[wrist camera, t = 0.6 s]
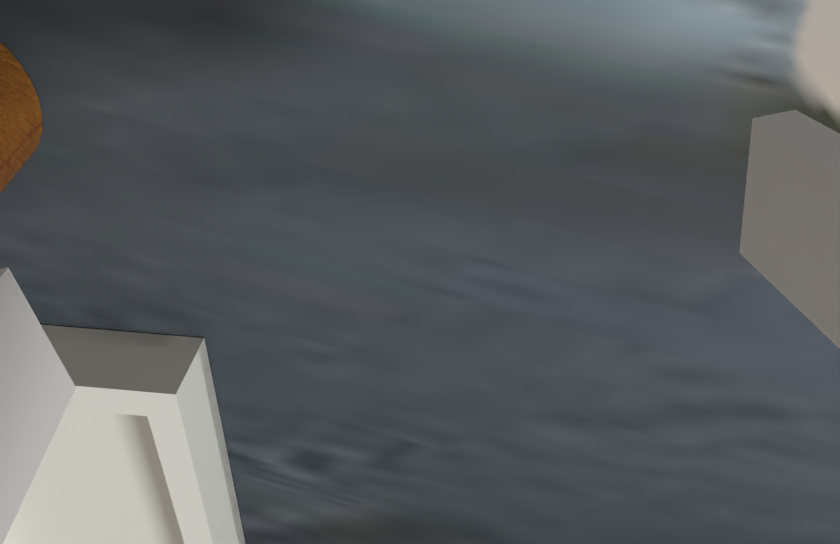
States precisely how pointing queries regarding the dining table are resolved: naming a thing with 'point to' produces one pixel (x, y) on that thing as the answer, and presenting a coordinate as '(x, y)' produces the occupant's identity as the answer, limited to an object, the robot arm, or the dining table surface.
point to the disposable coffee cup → (16, 117)
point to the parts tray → (133, 447)
